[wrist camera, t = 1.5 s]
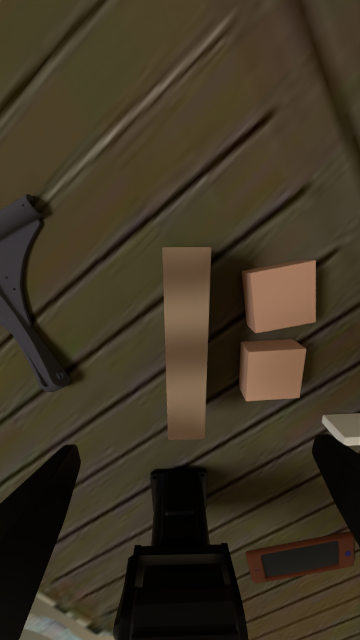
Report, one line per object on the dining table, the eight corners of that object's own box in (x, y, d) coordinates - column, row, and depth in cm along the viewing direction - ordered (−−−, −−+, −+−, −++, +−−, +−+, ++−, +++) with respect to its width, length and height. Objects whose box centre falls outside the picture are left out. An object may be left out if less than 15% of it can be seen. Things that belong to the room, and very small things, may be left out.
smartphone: (355, 567, 30) (253, 585, 31) (350, 558, 31) (251, 576, 32) (355, 536, 28) (246, 556, 29) (350, 527, 29) (244, 547, 30)
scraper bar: (197, 399, 22) (204, 438, 17) (169, 399, 22) (168, 439, 17) (201, 249, 18) (211, 247, 13) (165, 249, 18) (162, 247, 13)
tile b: (298, 314, 20) (315, 322, 17) (245, 324, 20) (255, 333, 17) (297, 259, 18) (315, 260, 16) (240, 270, 18) (250, 273, 16)
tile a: (285, 382, 22) (299, 397, 20) (238, 385, 22) (245, 401, 19) (290, 337, 20) (306, 348, 18) (239, 340, 20) (248, 352, 18)
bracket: (12, 405, 22) (-10, 426, 20) (-102, 278, 18) (-149, 282, 15) (131, 349, 21) (124, 363, 18) (37, 197, 17) (11, 186, 14)
